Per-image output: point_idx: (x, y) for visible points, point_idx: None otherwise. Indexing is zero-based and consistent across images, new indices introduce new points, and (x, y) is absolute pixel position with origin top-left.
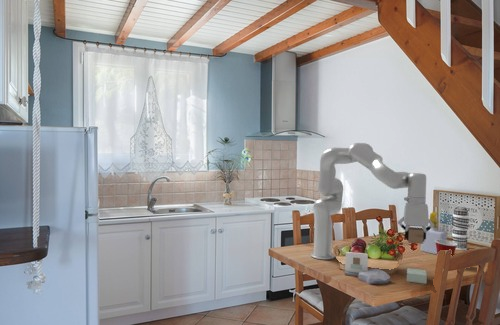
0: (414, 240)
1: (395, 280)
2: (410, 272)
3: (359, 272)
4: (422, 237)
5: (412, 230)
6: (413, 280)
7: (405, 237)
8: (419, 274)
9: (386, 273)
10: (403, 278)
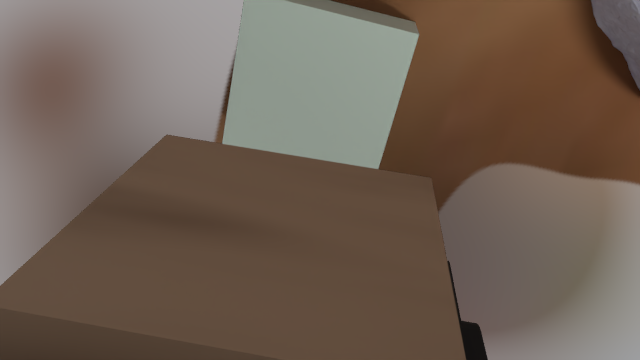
0: (319, 182)
1: (515, 19)
2: (380, 57)
3: None
4: (127, 194)
5: (353, 350)
6: (362, 10)
7: (468, 324)
8: (308, 8)
9: (638, 3)
10: (422, 90)
